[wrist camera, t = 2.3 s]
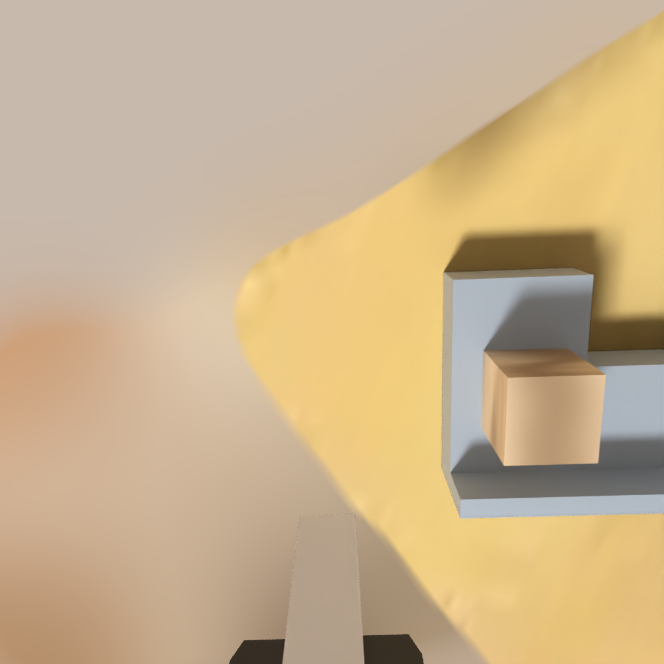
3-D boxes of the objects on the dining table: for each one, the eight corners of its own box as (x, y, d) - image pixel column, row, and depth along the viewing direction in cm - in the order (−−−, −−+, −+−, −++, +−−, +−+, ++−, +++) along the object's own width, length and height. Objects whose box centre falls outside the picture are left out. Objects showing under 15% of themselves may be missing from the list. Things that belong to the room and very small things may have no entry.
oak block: (566, 347, 26) (606, 374, 22) (561, 424, 27) (598, 463, 23) (483, 350, 26) (507, 377, 23) (481, 427, 27) (503, 465, 23)
